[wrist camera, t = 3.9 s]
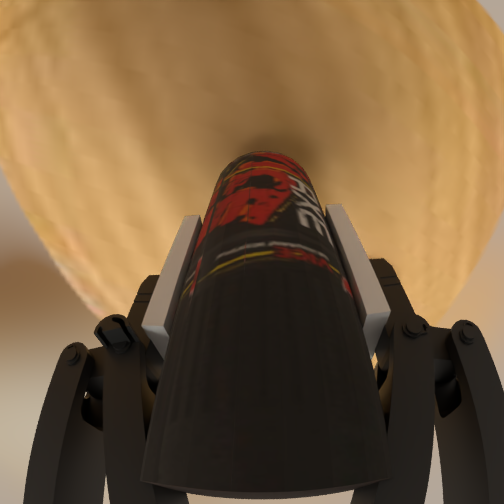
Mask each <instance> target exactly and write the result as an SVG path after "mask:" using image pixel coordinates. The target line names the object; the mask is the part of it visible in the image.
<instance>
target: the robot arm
mask: <svg viewBox="0 0 504 504" xmlns="http://www.w3.org/2000/svg"><path fill="white" fill-rule="evenodd" d="M325 218H326V221H327V224H328V226H329V229H330V232H331V234H332V237H333V240H334V242H335V245H336V248H337V251H338V254H339V256H340V259H341V262H342V265H343V268H344V271H345V274H346V277H347V280H348V283H349V286H350V289H351V292H352V295H353V298H354V302H355V305H356V308H357V311H358V315H359V318H360V322H361V325H362V328H363V332H364V336H365V339H366V343H367V346H368V350H369V354H370V358H371V360H372V357H373V355H374V353H376V357H377V360H378V362H377V364H376V366H375V368H374V374H375V378H376V382H377V386H378V391H379V395H380V400H381V405H382V409H383V414H384V419H385V424H386V430H387V440H388V446H389V452H390V459H391V466H392V473H393V478H389V479H386V480H382V481H378V482H375V483H372V484H369V485H366V486H363V487H360V488H357V489H354V493H353V497H352V500H351V504H424V502H425V497H426V492H427V486H428V481H429V474H430V467H431V458H432V449H433V436H434V424H435V430H436V435H437V441H438V448H439V456H440V464H441V473H442V483H443V484H442V485H443V501H444V504H504V391H503V388H502V385H501V382H500V379H499V376H498V373H497V370H496V367H495V365H494V362H493V360H492V357H491V354H490V352H489V349H488V347H487V344H486V342H485V340H484V337H483V335H482V333H481V331H480V330H479V328H478V327H477V326H476V325H475V324H474V323H473V322H471V321H468V320H459V321H457V322H456V323H455V324H454V325H453V326H452V328H451V329H447V328H438V327H432V326H429V324H428V323H427V321H426V320H425V319H424V318H422V317H421V316H419V315H416V314H415V312H414V310H413V308H412V306H411V304H410V301H409V299H408V297H407V295H406V293H405V291H404V289H403V287H402V285H401V283H400V281H399V279H398V277H397V275H396V273H395V271H394V269H393V267H392V266H391V265H390V264H389V263H388V262H387V261H386V260H385V259H384V258H381V259H368V257H367V254H366V252H365V250H364V248H363V246H362V244H361V242H360V240H359V238H358V236H357V233H356V231H355V229H354V227H353V225H352V223H351V221H350V219H349V218H348V216H347V214H346V212H345V210H344V208H343V206H342V204H329V205H326V216H325ZM201 227H202V222H201V218H200V215H192V216H185V217H184V219H183V221H182V224H181V226H180V228H179V230H178V233H177V235H176V237H175V240H174V242H173V244H172V247H171V249H170V252H169V254H168V256H167V259H166V261H165V264H164V266H163V269H162V271H161V274H160V275H149V276H148V277H147V278H146V279H145V280H144V281H143V283H142V284H141V286H140V288H139V290H138V292H137V295H136V297H135V300H134V303H133V304H132V307H131V309H130V312H129V314H128V317H127V318H126V317H125V316H123V315H120V314H114V315H110V316H108V317H105V318H104V319H103V320H101V321H100V322H99V324H98V325H97V326H96V328H95V331H94V334H95V336H96V337H97V338H98V340H99V341H100V342H101V343H102V345H103V346H102V347H98V348H94V349H90V350H88V349H87V348H86V346H85V345H84V344H83V343H79V342H75V343H72V344H70V345H68V346H67V347H66V348H65V349H64V350H63V352H62V353H61V355H60V358H59V360H58V363H57V365H56V368H55V371H54V374H53V376H52V379H51V382H50V385H49V388H48V391H47V394H46V397H45V400H44V404H43V407H42V410H41V414H40V418H39V421H38V425H37V429H36V433H35V437H34V441H33V445H32V450H31V455H30V460H29V466H28V471H27V477H26V484H25V493H24V502H23V504H103V495H104V486H105V477H107V485H108V493H109V500H110V504H189V502H188V498H187V494H186V492H181V491H177V490H173V489H169V488H165V487H161V486H158V485H154V484H150V483H146V482H142V481H140V476H141V469H142V463H143V458H144V452H145V446H146V440H147V435H148V430H149V425H150V420H151V415H152V410H153V405H154V401H155V396H156V391H157V387H158V383H159V378H160V374H161V370H162V366H163V361H164V357H165V353H166V349H167V345H168V341H169V337H170V334H171V330H172V326H173V322H174V318H175V315H176V311H177V307H178V304H179V300H180V297H181V293H182V290H183V286H184V283H185V279H186V276H187V273H188V269H189V266H190V263H191V259H192V256H193V253H194V250H195V246H196V243H197V240H198V237H199V234H200V231H201ZM85 392H87V394H86V396H85ZM84 396H85V397H84Z"/></svg>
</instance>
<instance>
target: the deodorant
mask: <svg viewBox="0 0 504 504" xmlns="http://www.w3.org/2000/svg"><path fill="white" fill-rule="evenodd" d="M389 478H393V473H392V466H391V459H390V452H389V446H388V440H387V430H386V424H385V419H384V414H383V409H382V405H381V400H380V395H379V391H378V386H377V382H376V378H375V374H374V370H373V366H372V362H371V358H370V354H369V350H368V346H367V343H366V339H365V336H364V332H363V328H362V325H361V322H360V318H359V315H358V311H357V308H356V305H355V302H354V298H353V295H352V292H351V289H350V286H349V283H348V280H347V277H346V274H345V271H344V268H343V265H342V262H341V259H340V256H339V254H338V251H337V248H336V245H335V242H334V240H333V237H332V234H331V232H330V229H329V226H328V224H327V221H326V218H325V216H324V213H323V211H322V208H321V206H320V203H319V201H318V198H317V196H316V193H315V191H314V188H313V186H312V184H311V181H310V179H309V177H308V176H307V174H306V172H305V171H304V169H303V168H302V167H301V166H300V165H299V164H298V163H296V162H295V161H294V160H293V159H291V158H289V157H287V156H285V155H282V154H280V153H275V152H269V151H260V152H252V153H249V154H246V155H243V156H240V157H239V158H237V159H236V160H234V161H233V162H231V163H230V164H229V165H228V166H227V167H226V168H225V169H224V170H223V172H222V173H221V174H220V177H219V179H218V181H217V183H216V186H215V189H214V192H213V195H212V197H211V200H210V203H209V206H208V209H207V212H206V215H205V218H204V221H203V224H202V227H201V231H200V234H199V237H198V240H197V243H196V246H195V250H194V253H193V256H192V259H191V263H190V266H189V269H188V273H187V276H186V279H185V283H184V286H183V290H182V293H181V297H180V300H179V304H178V307H177V311H176V315H175V318H174V322H173V326H172V330H171V334H170V337H169V341H168V345H167V349H166V353H165V357H164V361H163V366H162V370H161V374H160V378H159V383H158V387H157V391H156V396H155V401H154V405H153V410H152V415H151V420H150V425H149V430H148V435H147V440H146V446H145V452H144V458H143V463H142V469H141V476H140V481H142V482H146V483H150V484H154V485H158V486H161V487H165V488H169V489H173V490H177V491H181V492H186V493H190V494H196V495H204V496H212V497H223V498H235V499H236V498H237V499H287V498H301V497H311V496H319V495H327V494H333V493H339V492H344V491H349V490H354V489H357V488H360V487H363V486H366V485H369V484H372V483H375V482H378V481H382V480H386V479H389Z"/></svg>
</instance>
